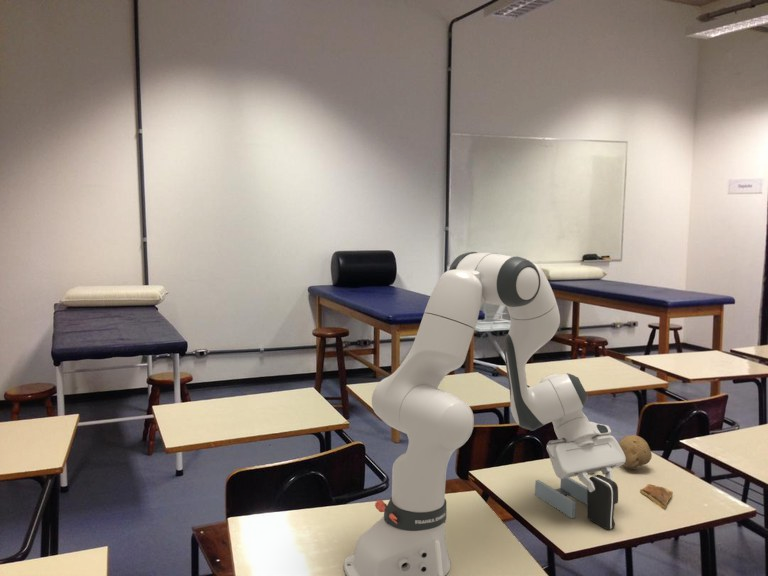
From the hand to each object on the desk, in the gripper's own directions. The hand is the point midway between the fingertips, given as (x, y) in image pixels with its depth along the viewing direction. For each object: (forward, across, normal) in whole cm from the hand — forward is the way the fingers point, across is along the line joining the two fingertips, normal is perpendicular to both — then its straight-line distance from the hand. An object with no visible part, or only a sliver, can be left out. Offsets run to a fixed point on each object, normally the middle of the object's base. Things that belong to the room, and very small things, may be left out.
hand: (602, 489), depth 152 cm
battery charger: (+6, +1, +6) cm, 9 cm away
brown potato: (-9, +33, +21) cm, 40 cm away
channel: (-2, 0, +15) cm, 15 cm away
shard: (+4, +26, +9) cm, 27 cm away
